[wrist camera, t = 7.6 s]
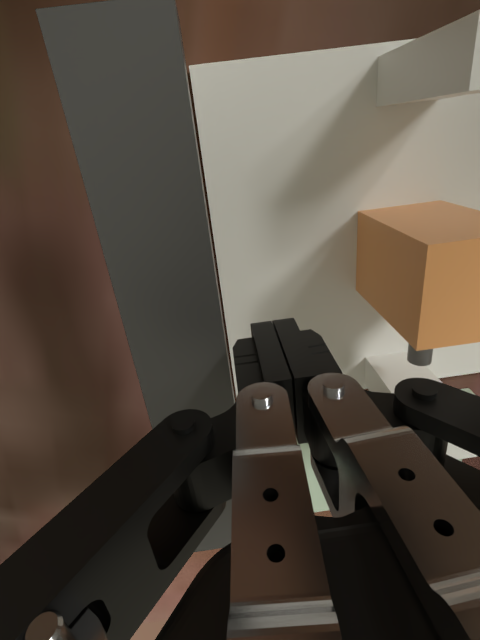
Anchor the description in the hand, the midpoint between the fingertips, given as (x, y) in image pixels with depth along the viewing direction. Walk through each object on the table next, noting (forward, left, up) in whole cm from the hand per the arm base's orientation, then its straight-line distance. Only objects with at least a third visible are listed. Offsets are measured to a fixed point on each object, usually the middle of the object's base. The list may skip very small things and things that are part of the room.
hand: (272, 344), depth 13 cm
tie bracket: (-8, 0, -10) cm, 13 cm away
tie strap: (+3, 0, -1) cm, 3 cm away
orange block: (-8, +1, -9) cm, 12 cm away
